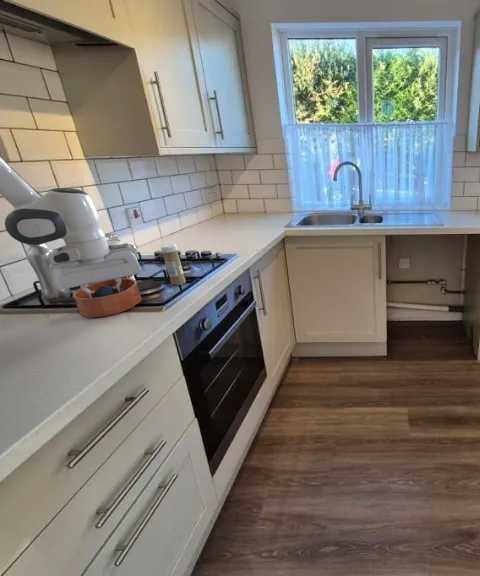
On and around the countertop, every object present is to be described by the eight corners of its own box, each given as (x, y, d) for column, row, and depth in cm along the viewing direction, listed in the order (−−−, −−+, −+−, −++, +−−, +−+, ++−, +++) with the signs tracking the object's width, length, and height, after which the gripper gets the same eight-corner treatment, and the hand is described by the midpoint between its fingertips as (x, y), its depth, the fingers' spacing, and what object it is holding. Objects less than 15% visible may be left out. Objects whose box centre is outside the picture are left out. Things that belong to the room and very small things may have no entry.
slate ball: (94, 302, 103) (89, 288, 102) (110, 296, 107) (105, 282, 105) (105, 304, 102) (100, 290, 100) (120, 298, 106) (115, 284, 104)
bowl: (67, 314, 103) (60, 295, 101) (119, 293, 116) (113, 276, 114) (104, 322, 98) (96, 302, 96) (153, 299, 112) (148, 281, 109)
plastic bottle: (55, 296, 115) (29, 235, 107) (78, 295, 116) (54, 234, 108) (40, 305, 109) (11, 241, 101) (64, 303, 110) (37, 240, 102)
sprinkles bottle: (189, 282, 124) (179, 244, 119) (177, 286, 121) (166, 248, 115) (179, 280, 126) (170, 242, 121) (167, 284, 122) (157, 246, 117)
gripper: (132, 239, 106) (146, 282, 112) (41, 253, 95) (61, 301, 101) (135, 244, 102) (148, 289, 107) (39, 259, 90) (60, 309, 96)
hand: (105, 295), depth 104 cm, fingers closed on slate ball, 4 cm apart
